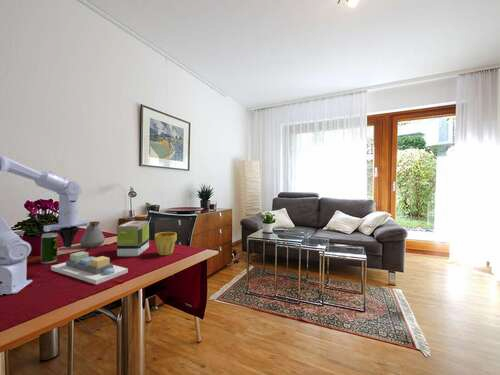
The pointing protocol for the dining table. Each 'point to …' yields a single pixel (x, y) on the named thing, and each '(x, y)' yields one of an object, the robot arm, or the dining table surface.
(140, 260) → the dining table surface
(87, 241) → the coffee pot
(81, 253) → the sage button
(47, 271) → the dining table surface
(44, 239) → the beer can
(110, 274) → the white rectangular tray
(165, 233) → the plant pot
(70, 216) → the robot arm
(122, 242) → the tea box
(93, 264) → the ochre button
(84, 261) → the blue button
